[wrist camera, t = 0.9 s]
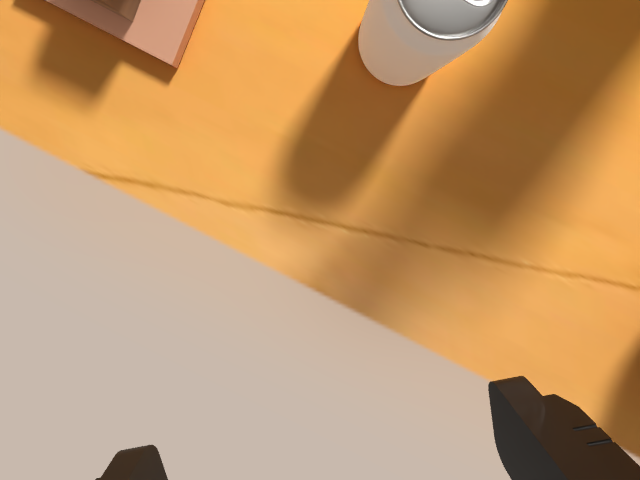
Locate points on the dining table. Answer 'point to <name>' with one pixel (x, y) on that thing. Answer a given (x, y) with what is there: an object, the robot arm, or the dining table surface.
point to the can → (421, 35)
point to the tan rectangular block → (142, 22)
